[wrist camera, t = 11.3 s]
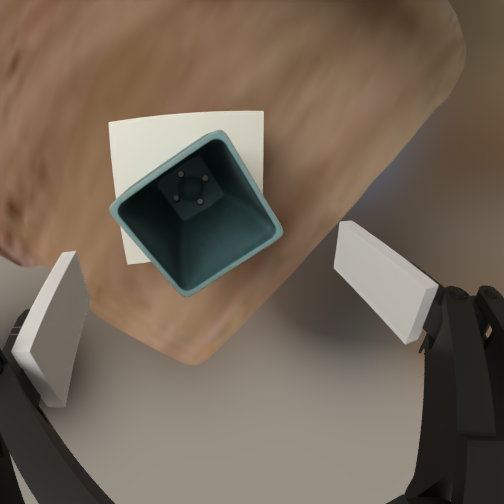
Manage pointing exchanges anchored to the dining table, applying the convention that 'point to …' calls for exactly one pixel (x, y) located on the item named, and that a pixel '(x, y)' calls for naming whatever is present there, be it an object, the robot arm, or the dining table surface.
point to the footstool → (178, 149)
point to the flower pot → (198, 214)
